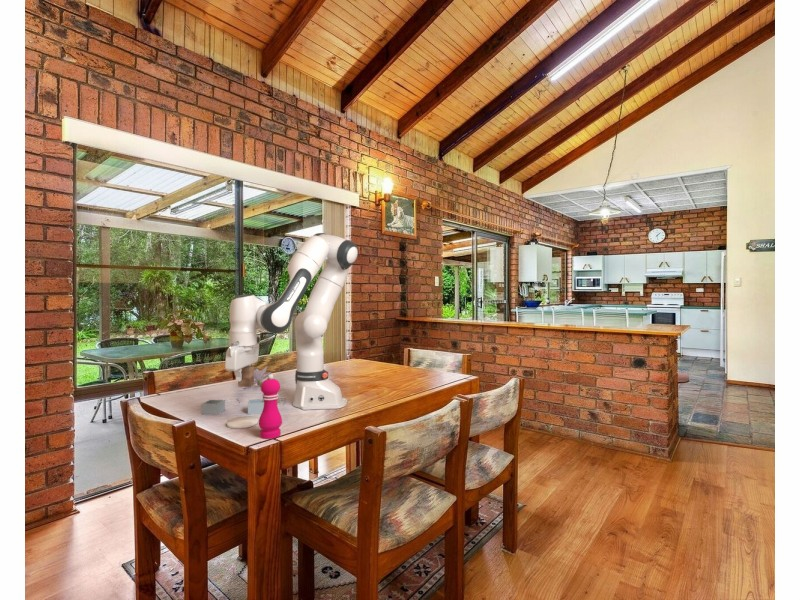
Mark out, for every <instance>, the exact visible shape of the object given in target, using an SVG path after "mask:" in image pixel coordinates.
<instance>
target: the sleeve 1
mask: <svg viewBox="0 0 800 600" xmlns="http://www.w3.org/2000/svg"><path fill="white" fill-rule="evenodd" d="M224 411H226V401H225V399H208V400H207V401H206V400H205V401H204V402H203V403H201V412H200V413H201V414H200V415H207V416H208V415H212V416H214V415H219V414H221V413H222V412H224Z"/></svg>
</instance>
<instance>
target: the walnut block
mask: <svg viewBox="0 0 800 600" xmlns="http://www.w3.org/2000/svg"><path fill="white" fill-rule="evenodd" d="M254 370H255V366H254V365H251V366H246V367H244V368H242V371H241V374H242V376H243V380H242V381H237V383H238V384H237V386H238V387H239V388H244V387H249V388H251V387H252V385H253V386H254V385H255V384H254ZM250 386H251V387H250Z"/></svg>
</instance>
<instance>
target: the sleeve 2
mask: <svg viewBox="0 0 800 600" xmlns="http://www.w3.org/2000/svg"><path fill="white" fill-rule="evenodd" d="M263 407H264V400H263V399H262V398H258V399H257V398H256V399H248V401H247V415H255V414H261V413H262V411H263Z"/></svg>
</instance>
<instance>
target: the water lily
mask: <svg viewBox="0 0 800 600" xmlns="http://www.w3.org/2000/svg"><path fill="white" fill-rule="evenodd" d="M267 369H268V366H265V367H264V368H263V369H261V370H259V369H258V368H256V369H254V385H256V384H257V386H259V385H260V386H259V387H260V388H261V384H262V383H263V380H266V379H267V378H268V375H269V374H273V373H272V371H270V372H267ZM254 385H252V386H254ZM252 386H250V387H242V389H243V390H245V389H248V388H251V387H252Z"/></svg>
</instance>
